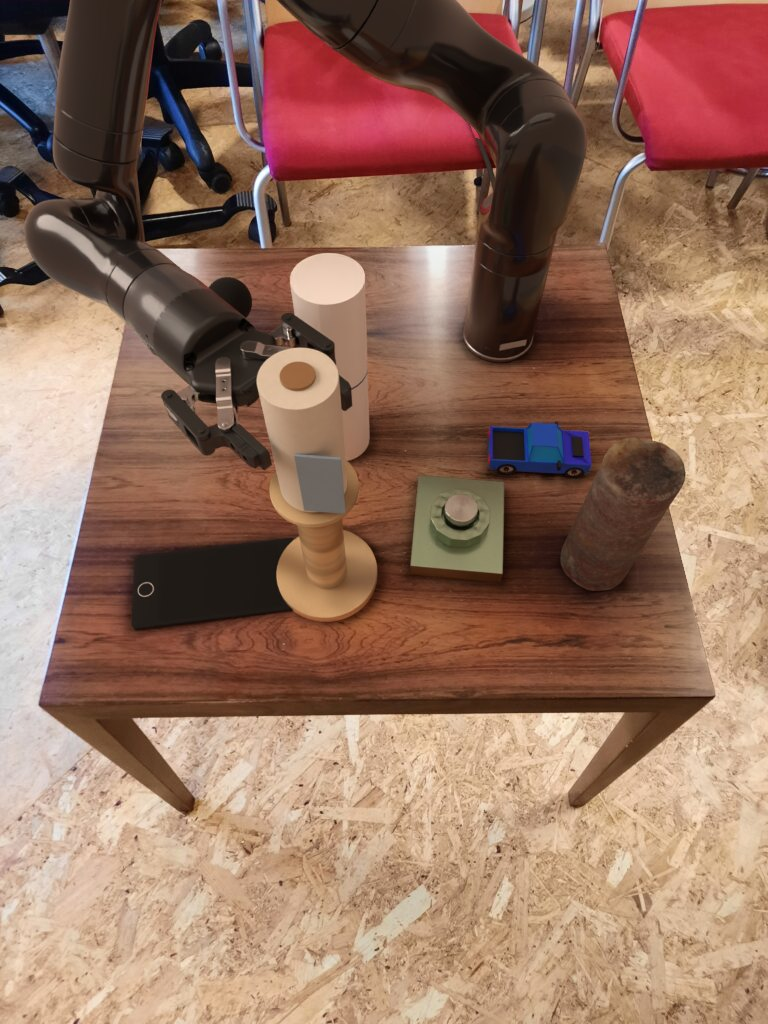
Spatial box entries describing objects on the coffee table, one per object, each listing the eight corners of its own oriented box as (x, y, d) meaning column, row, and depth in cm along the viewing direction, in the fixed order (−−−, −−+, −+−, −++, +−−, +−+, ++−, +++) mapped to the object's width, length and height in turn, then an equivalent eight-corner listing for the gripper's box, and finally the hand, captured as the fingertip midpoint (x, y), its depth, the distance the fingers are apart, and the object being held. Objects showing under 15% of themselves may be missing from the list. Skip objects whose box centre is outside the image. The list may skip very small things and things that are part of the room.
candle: (608, 609, 79) (669, 512, 62) (546, 577, 81) (589, 474, 64) (635, 556, 82) (700, 450, 65) (574, 526, 84) (623, 416, 67)
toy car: (587, 485, 87) (597, 461, 83) (486, 480, 88) (491, 455, 83) (583, 440, 91) (593, 415, 86) (486, 435, 91) (490, 410, 87)
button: (444, 500, 82) (445, 492, 80) (476, 503, 82) (478, 494, 80) (442, 528, 80) (443, 520, 79) (475, 531, 80) (477, 523, 78)
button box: (417, 484, 87) (419, 465, 84) (501, 491, 87) (506, 472, 83) (409, 574, 81) (410, 557, 78) (500, 582, 81) (505, 566, 77)
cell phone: (136, 559, 83) (134, 555, 82) (296, 540, 84) (295, 536, 83) (133, 632, 78) (130, 628, 77) (302, 611, 79) (301, 607, 78)
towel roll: (286, 454, 67) (264, 341, 55) (354, 459, 67) (347, 347, 55) (274, 512, 64) (247, 406, 52) (345, 518, 64) (336, 413, 51)
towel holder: (286, 528, 84) (264, 432, 69) (382, 537, 84) (381, 441, 68) (269, 617, 78) (241, 533, 63) (371, 626, 78) (368, 544, 63)
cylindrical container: (362, 466, 89) (356, 309, 67) (305, 456, 90) (281, 298, 68) (375, 420, 92) (372, 258, 71) (319, 411, 93) (300, 248, 72)
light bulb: (268, 336, 100) (257, 278, 92) (241, 363, 97) (228, 306, 89) (234, 319, 102) (221, 261, 93) (207, 345, 99) (191, 288, 91)
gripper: (104, 336, 59) (229, 454, 52) (244, 252, 64) (373, 351, 58) (132, 397, 65) (246, 509, 59) (257, 317, 70) (375, 412, 64)
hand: (309, 431), depth 58 cm, fingers open, 8 cm apart
